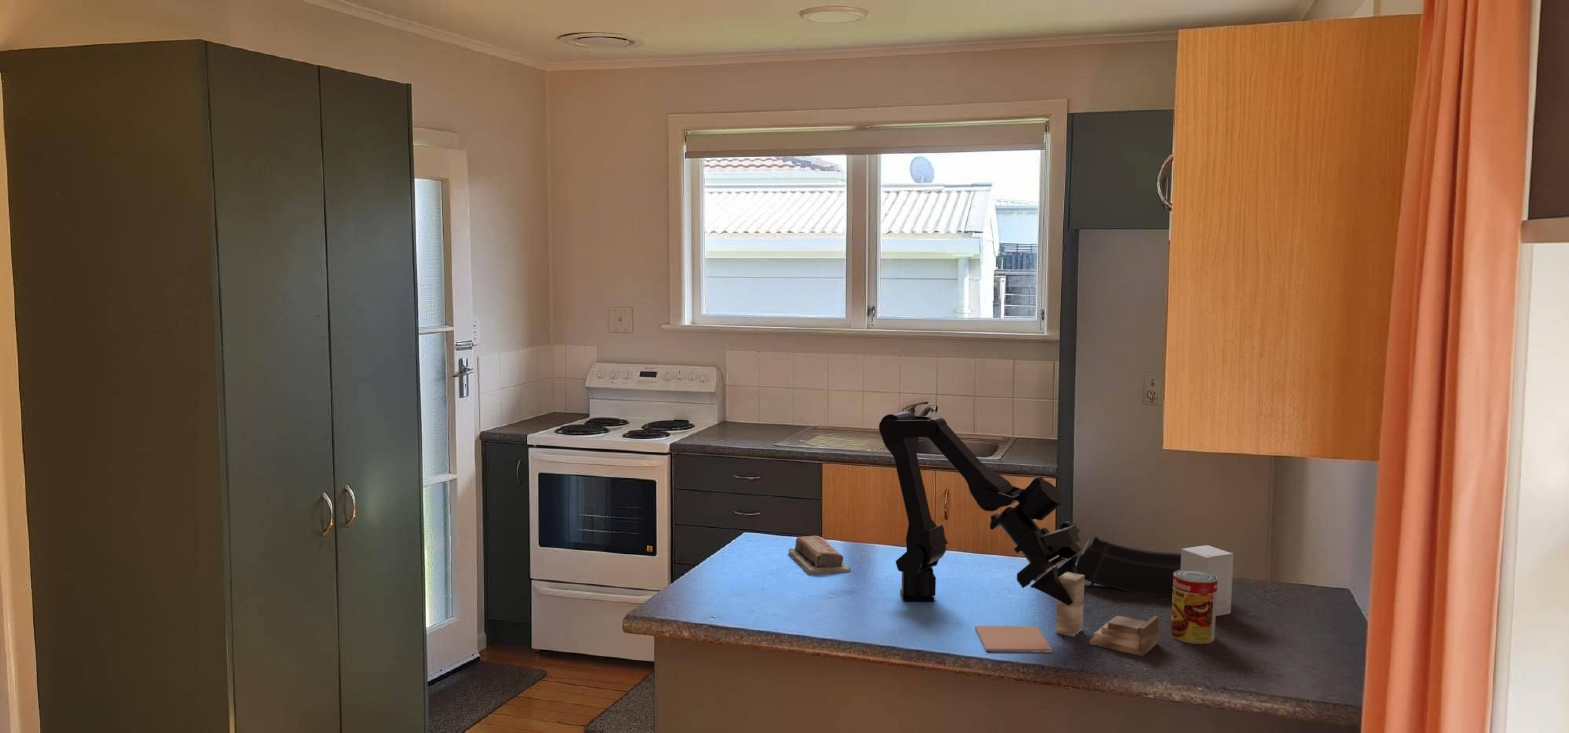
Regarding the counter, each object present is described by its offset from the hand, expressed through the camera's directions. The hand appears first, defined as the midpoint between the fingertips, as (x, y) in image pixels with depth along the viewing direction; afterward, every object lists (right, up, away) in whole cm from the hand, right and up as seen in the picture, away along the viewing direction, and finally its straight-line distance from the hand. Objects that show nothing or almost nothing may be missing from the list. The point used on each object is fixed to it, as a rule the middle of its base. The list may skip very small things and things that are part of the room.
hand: (1077, 599), depth 211 cm
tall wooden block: (-1, -6, +2) cm, 7 cm away
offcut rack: (+7, -7, -5) cm, 11 cm away
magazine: (+22, -4, +26) cm, 35 cm away
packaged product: (-48, -2, +46) cm, 67 cm away
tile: (-13, -7, -3) cm, 15 cm away
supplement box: (+30, -5, +15) cm, 34 cm away
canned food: (+22, -7, 0) cm, 23 cm away
